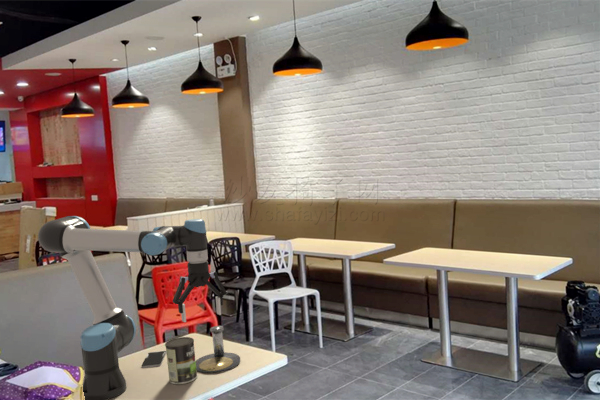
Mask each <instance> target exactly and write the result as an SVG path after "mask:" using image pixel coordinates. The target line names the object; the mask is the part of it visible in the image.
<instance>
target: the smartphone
mask: <svg viewBox="0 0 600 400" xmlns="http://www.w3.org/2000/svg"><path fill="white" fill-rule="evenodd" d="M166 356H167V353H166V350H159V351H149V352H147V353H146V356H145V358H144V360H143V362H142V364H141V368H142V369H144V368H153V367H160V366H162V364H163V362H164V360H165V357H166Z"/></svg>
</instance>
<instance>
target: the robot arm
mask: <svg viewBox="0 0 600 400" xmlns="http://www.w3.org/2000/svg"><path fill="white" fill-rule="evenodd" d="M37 234H38V235H37V239H38V243H39V245H40V246H41V247H42V249H43V250H45V251H47V252H49V253H59V255H60V257H61V258H62V259H65V260H67V261H68V264H69V265H70V266H69V267H71V270H72V272H73V274H74V276H75V279H76V281H77V282H78V283H77V284H78V285H79V287H80V289H81V291H82V294H83V295H84V297H85V300H86V302H87V304H88V306H89V308H90V310H91V312H92V315H93V317H94V318H93V321H92V325H91V326H89V327H86V328H85V329H84V330H83V331H82V332H81V334H80V347H81V349H80V350H81V356H82V363H83V372H84V377H83V382H82V385H83V392H84V396H85V400H109V399H113V398H115V397H117V396H120V395H121V394H123V393H124V392H125V391H126V390H127V380H126V379H125V376H124V374H123V373H122V371H121V369H120V364H119V353H120V352H121V351H122V350H123V349H124V348H126V347H127V346H128V345H130V344H131V343H132V341H133V339H134V338H135V336H136V332H137V326H136V324H135V321H134V320H133V318H132V317H131V316H128V315H127V314H125V312H124V309H123V308H120V307H118V306H117V305H116V303H115V300H114V298H113V297H112V295H111V292H110V290H109V287H108V286H107V283H106V280H105V279H104V277H103V274H102V272H101V270H100V268H99V266H98V263H97V262H96V259H95V258H94V255H93V253H92V251H93V252H94V251H95V252H121V253H122V252H124V253H144V254H146V255H149V256H157V255H160V254H162V253H163V252H165V251H166V250H168V249H170V248H172V247H185V248H186V249H185V250H186V261H187V274H188V275H187V276H182V275H181V276H179V283H178V286H177V288H176V291H175V294H174V295H173V299H172V303H173V304H175V305H177V307H178V308H177V309H178V313H179V314H180V315H181V321H182V322H183V323H187V316H186V315H187V313H186V304H185V303H184V302H186V299H188V296H189V295H190V294H191V292H192V291H193V290H194V289H195V288H199V287H205V286H207V287H208V288H209V289H210V290H211V291H212V292H213V293H214V294H215V295H216V296H215V306H216V307H215V309H216V314H217V315H219V316H222V306H223V302H224V301H223V298H224V296H226V295H228V292H227V290H226V288H225V287H224V285H223V283H222V282H221V280H220V278H219V275H218V272H217V271H215V270H213V271H211V272H210V271H209V270H210V269H209V262H208V260H209V257H208V254H209V253H208V242H207V227H206V221H205V220H204V219H201V218H194V219H193V218H192V219H188V220H187V219H186V220H185V221H184V224H183V225H170V226H169V225H167V226H166V225H162V226H156V227H154V228H153V229H152V230H130V229H128V230H127V229H104V228H102V229H101V228H100V229H99V228H91V226H90V225H89V223H88V222H87V220H85V219H84V218H83V217H81V216H77V215H68V216H67V215H66V216H64V217H60V218H57V219H52V220H49V221H47V222H45V223H43V225H42V226H41V227H40V228H39V231H38V233H37ZM210 278H212V279H213V281H214V282H215V284H216V286H217V288H218V289H219V290H220V291H219V290H218V289H217V288H216V287H215V286H214V285H213V284H212V283H211V282H210V281H209V280H210ZM187 282H188V284H187V286H186V285H185V284H186V283H187ZM185 286H186V288H185V289H184V287H185Z"/></svg>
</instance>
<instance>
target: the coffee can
mask: <svg viewBox="0 0 600 400" xmlns="http://www.w3.org/2000/svg"><path fill="white" fill-rule="evenodd" d="M194 342H195V340H194V338H192V337H189V336H181V337H176V338H173V339H169V340H167V341H166V342H165V344H164V346H165V351H166V360H167V369H168V371H167V372H168V378H169V380H168V382H169V383H170V384H172V385H185V384H188V383H191V382H194V381H195V380H196V379H198V373H197V372H198V371H196V354H195V353H196V352H195V343H194Z"/></svg>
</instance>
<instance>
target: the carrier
mask: <svg viewBox="0 0 600 400" xmlns="http://www.w3.org/2000/svg"><path fill="white" fill-rule="evenodd" d="M209 330H210V333H211V334H212V345H213V353H209V354H206V355H203V356H201V357H199V358H198V359H195V361H196V371H197V372H199V373H203V374H204V373H205V374H217V373H222V372H226V371H230V370H232V369H234V368H235V367H237V366H238V365H240V363H241V356H240V355H238V354H237V353H233V352H225V349H224V348H225V347H224V346H225V345H224V338H223V337H224V335H223V331H224V326H223V325H215V326H212V327H210V328H209Z"/></svg>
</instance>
